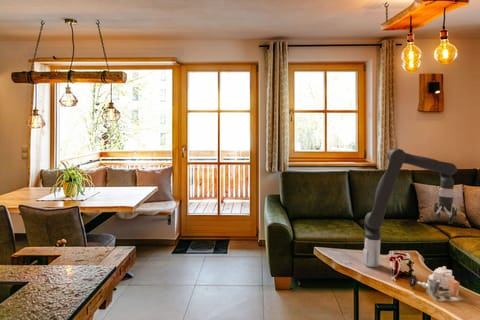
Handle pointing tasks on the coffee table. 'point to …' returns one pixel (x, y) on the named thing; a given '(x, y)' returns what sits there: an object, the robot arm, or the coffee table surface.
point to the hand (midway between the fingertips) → (444, 221)
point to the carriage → (454, 287)
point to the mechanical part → (442, 277)
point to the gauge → (442, 293)
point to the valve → (420, 283)
